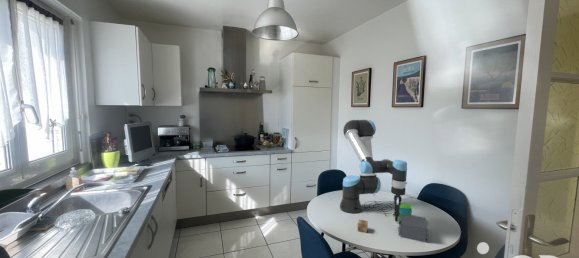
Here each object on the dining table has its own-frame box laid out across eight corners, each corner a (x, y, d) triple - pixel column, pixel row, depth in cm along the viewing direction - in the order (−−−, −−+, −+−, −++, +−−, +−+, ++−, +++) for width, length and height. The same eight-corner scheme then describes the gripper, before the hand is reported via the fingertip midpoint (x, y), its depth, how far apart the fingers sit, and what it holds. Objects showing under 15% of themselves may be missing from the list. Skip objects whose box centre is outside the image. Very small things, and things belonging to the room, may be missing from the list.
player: (400, 237, 132) (401, 223, 131) (400, 225, 144) (401, 213, 144) (427, 242, 126) (428, 228, 125) (424, 230, 139) (425, 217, 138)
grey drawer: (398, 234, 133) (398, 227, 133) (398, 225, 144) (398, 218, 143) (423, 240, 128) (424, 232, 127) (422, 230, 138) (422, 222, 138)
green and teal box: (409, 215, 158) (410, 201, 158) (412, 224, 146) (413, 209, 145) (393, 213, 162) (394, 199, 161) (394, 221, 150) (395, 206, 149)
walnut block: (357, 231, 138) (357, 222, 137) (358, 227, 142) (359, 219, 142) (366, 233, 136) (366, 224, 135) (367, 229, 140) (367, 221, 140)
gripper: (405, 191, 129) (403, 232, 131) (405, 184, 141) (402, 222, 143) (391, 189, 132) (388, 229, 134) (391, 182, 144) (389, 219, 146)
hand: (395, 225), depth 139 cm, fingers closed
